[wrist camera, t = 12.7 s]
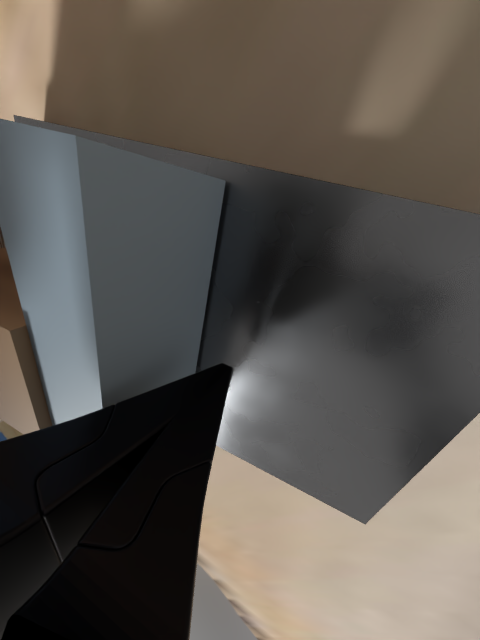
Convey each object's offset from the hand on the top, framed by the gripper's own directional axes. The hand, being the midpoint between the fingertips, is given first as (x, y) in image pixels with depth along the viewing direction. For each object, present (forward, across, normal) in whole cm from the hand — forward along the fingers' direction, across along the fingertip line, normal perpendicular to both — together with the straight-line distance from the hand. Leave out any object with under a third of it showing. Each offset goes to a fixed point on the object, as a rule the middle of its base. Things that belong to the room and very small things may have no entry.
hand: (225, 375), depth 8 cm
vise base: (+3, +2, 0) cm, 3 cm away
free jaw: (+1, +3, 0) cm, 3 cm away
